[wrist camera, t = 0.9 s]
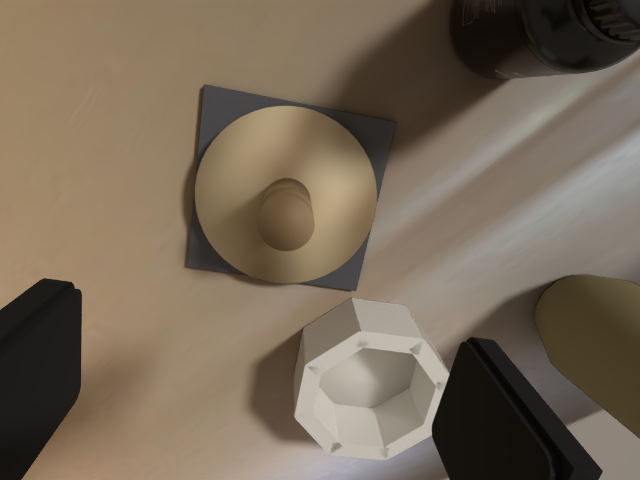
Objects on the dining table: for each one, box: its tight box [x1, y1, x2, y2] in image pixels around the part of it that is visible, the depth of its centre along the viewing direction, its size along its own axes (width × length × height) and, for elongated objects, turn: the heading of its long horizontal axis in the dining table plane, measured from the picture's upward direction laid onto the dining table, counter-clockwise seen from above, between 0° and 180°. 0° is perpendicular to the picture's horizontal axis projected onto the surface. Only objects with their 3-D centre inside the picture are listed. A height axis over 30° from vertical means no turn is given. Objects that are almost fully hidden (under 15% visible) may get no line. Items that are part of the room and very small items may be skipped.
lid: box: [195, 106, 377, 284], centre depth 24 cm, size 12×12×6 cm
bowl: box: [294, 298, 450, 460], centre depth 30 cm, size 10×10×4 cm
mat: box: [188, 85, 396, 291], centre depth 27 cm, size 12×12×1 cm
